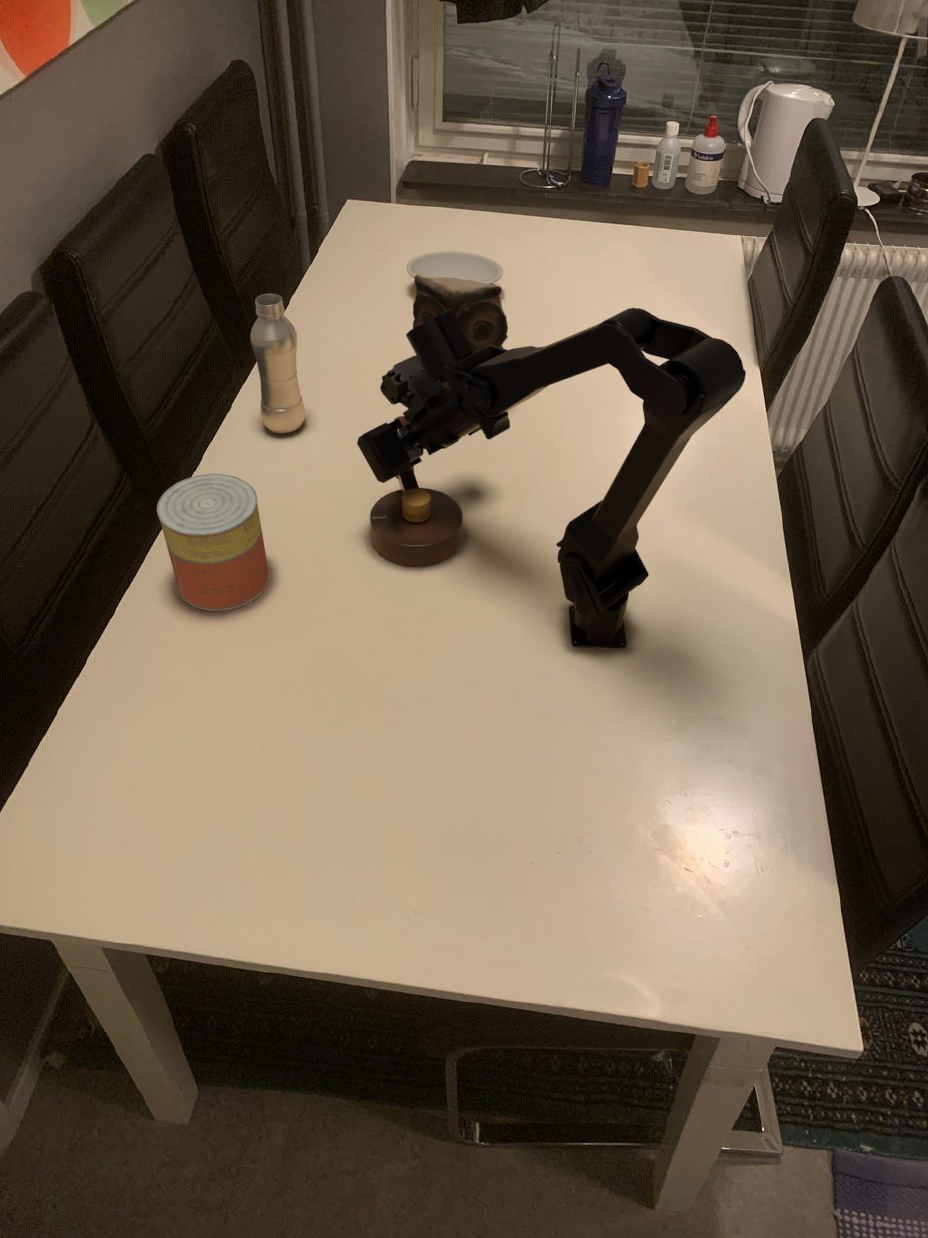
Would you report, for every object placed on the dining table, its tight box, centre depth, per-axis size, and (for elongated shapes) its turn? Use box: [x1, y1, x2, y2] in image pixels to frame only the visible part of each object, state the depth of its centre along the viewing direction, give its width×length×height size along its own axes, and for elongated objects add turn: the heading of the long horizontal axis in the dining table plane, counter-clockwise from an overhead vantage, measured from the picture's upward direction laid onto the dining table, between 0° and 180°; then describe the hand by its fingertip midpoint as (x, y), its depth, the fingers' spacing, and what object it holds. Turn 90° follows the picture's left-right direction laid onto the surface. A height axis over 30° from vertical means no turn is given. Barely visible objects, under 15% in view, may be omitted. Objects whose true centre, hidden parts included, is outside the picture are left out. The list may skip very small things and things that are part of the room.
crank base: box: [369, 487, 464, 568], centre depth 119 cm, size 12×12×4 cm
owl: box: [412, 275, 509, 388], centre depth 137 cm, size 13×13×20 cm
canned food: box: [156, 473, 271, 612], centre depth 109 cm, size 11×11×12 cm
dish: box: [405, 251, 504, 285], centre depth 167 cm, size 18×14×5 cm
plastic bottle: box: [249, 293, 306, 434], centre depth 130 cm, size 6×7×20 cm
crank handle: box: [393, 415, 431, 522], centre depth 117 cm, size 11×4×9 cm, turn 14°
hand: (397, 449), depth 121 cm, fingers closed on crank handle, 3 cm apart
